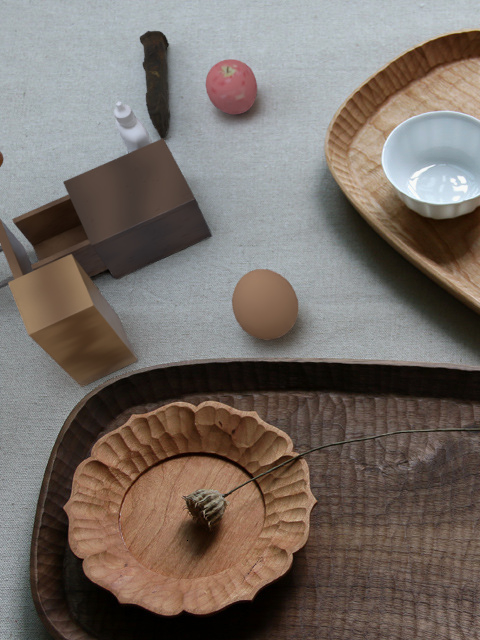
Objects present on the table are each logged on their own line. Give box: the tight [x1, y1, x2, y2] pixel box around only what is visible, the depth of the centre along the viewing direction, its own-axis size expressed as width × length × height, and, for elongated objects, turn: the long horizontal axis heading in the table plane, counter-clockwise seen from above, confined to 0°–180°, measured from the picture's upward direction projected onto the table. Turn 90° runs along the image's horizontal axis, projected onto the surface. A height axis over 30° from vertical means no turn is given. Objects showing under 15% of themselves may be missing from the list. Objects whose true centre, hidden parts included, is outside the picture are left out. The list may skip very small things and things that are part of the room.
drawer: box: [0, 193, 109, 290], centre depth 110 cm, size 18×10×7 cm, turn 118°
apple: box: [205, 58, 258, 115], centre depth 120 cm, size 7×7×8 cm
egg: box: [231, 268, 300, 341], centre depth 103 cm, size 8×8×11 cm
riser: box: [8, 254, 139, 388], centre depth 101 cm, size 8×8×15 cm
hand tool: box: [139, 30, 171, 140], centre depth 123 cm, size 19×4×5 cm, turn 7°
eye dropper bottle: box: [113, 101, 154, 153], centre depth 115 cm, size 4×6×12 cm
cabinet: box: [63, 138, 213, 281], centre depth 112 cm, size 15×12×9 cm
